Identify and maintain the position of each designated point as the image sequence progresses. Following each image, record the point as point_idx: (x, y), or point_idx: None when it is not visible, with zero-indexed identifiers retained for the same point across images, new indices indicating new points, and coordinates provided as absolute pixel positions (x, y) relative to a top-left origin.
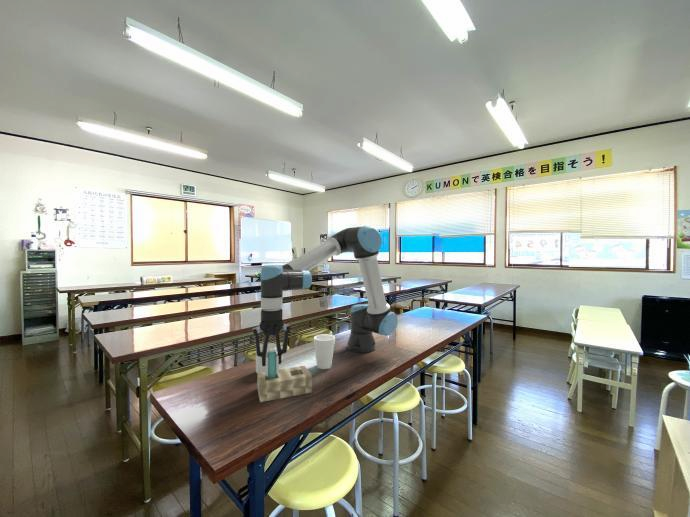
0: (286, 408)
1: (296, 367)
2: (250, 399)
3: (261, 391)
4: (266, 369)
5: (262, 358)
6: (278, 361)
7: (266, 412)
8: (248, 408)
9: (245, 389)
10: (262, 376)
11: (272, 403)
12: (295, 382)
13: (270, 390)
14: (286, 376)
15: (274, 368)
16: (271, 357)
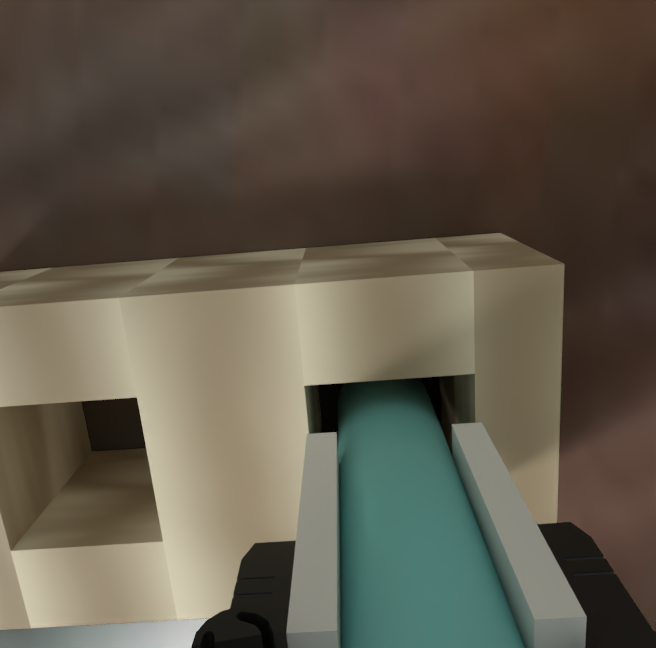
0: (260, 30)
1: (67, 611)
2: (580, 313)
3: (517, 248)
4: (497, 471)
5: (648, 632)
6: (295, 549)
7: (459, 14)
8: (617, 148)
9: (604, 506)
10: None
11: (387, 173)
12: (107, 287)
13: (413, 257)
14: (205, 399)
15: (367, 479)
16: (453, 612)
